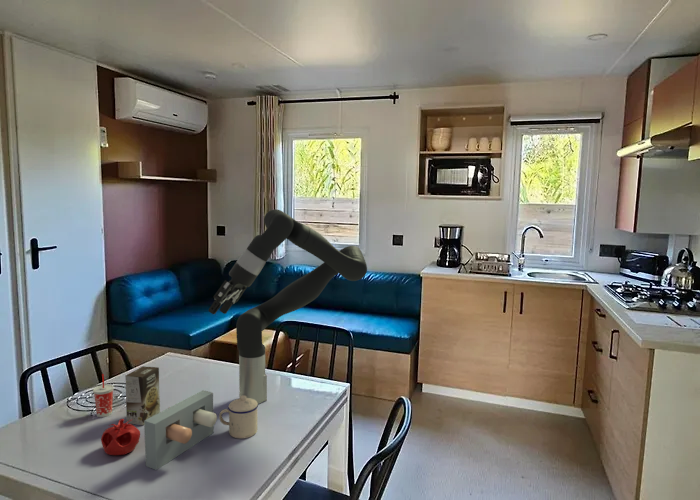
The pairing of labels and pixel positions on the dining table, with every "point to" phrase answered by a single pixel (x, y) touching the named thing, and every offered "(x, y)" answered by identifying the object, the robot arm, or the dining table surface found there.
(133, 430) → the tomato
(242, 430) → the teacup with lid
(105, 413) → the beverage cup
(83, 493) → the dining table surface
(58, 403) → the dining table surface
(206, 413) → the cream button
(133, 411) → the coffee box
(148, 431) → the button panel
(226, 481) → the dining table surface
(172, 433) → the terracotta button
